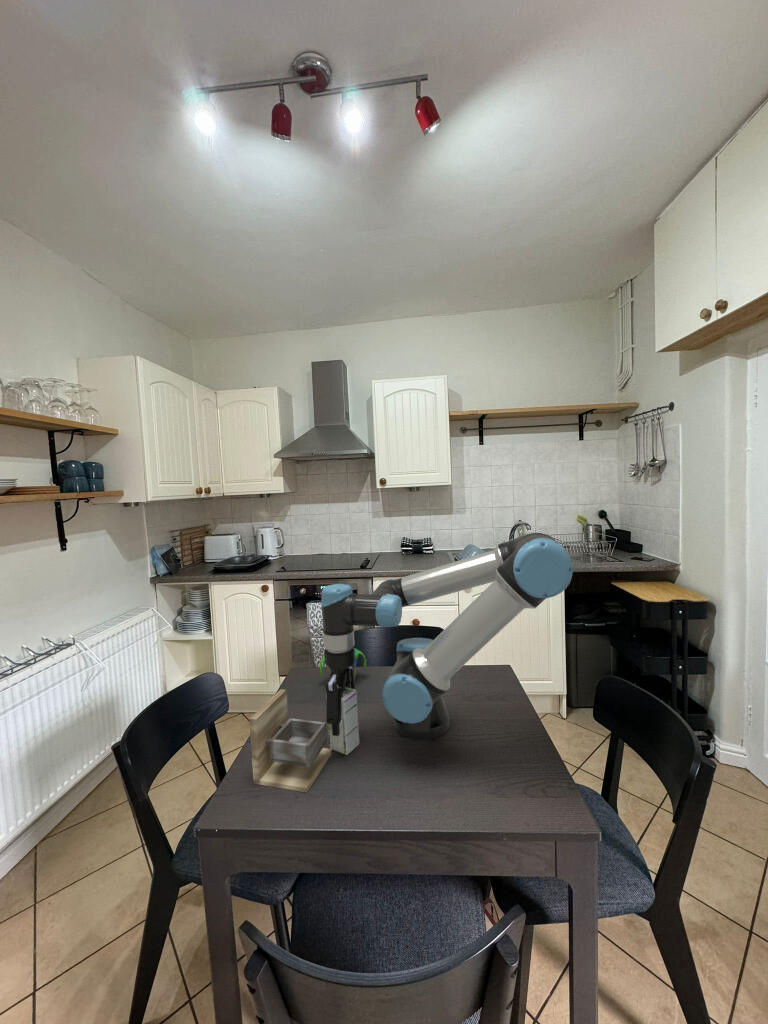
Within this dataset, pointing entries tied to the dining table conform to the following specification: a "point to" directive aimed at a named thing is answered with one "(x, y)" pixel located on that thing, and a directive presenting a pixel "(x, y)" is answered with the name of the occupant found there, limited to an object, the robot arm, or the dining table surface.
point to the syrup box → (347, 722)
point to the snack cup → (354, 662)
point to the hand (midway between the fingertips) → (343, 736)
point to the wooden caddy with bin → (286, 747)
